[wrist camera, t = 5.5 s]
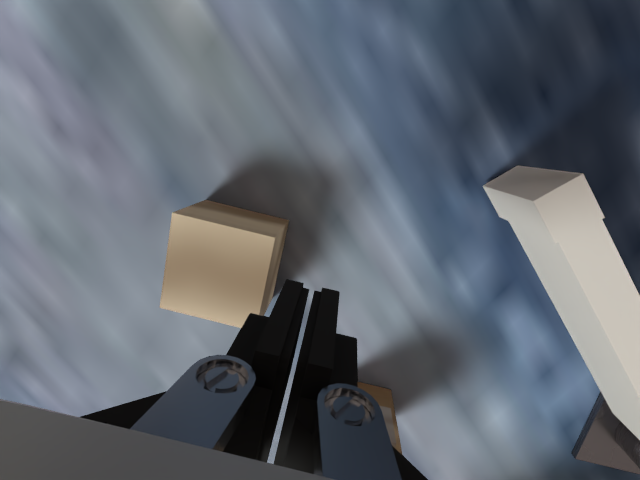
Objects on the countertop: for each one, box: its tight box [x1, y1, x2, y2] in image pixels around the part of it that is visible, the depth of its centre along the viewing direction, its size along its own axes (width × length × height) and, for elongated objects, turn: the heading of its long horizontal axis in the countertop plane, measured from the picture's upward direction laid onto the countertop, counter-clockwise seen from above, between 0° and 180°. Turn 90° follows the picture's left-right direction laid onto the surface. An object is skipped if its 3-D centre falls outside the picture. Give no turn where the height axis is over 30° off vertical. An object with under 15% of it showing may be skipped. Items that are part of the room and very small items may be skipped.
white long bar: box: [483, 166, 640, 440], centre depth 17 cm, size 14×2×5 cm, turn 32°
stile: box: [358, 382, 402, 454], centre depth 19 cm, size 3×3×6 cm
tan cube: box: [160, 200, 289, 328], centre depth 19 cm, size 4×4×4 cm
